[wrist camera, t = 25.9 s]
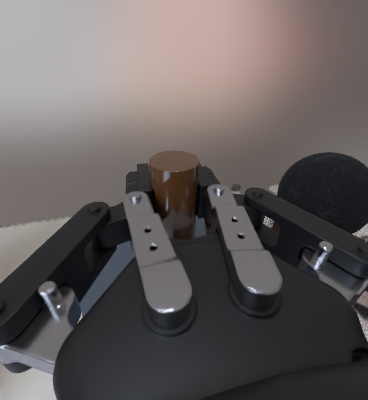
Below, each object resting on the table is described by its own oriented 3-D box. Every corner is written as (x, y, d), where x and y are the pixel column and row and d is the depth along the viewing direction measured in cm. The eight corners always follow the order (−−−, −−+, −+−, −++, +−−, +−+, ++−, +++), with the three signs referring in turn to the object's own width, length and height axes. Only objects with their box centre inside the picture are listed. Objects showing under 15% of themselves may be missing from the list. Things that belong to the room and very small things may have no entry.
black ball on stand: (251, 232, 40) (271, 152, 32) (289, 205, 47) (313, 134, 39) (329, 281, 32) (384, 191, 23) (361, 239, 39) (411, 159, 31)
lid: (291, 265, 18) (338, 154, 12) (192, 459, 9) (211, 365, 4) (168, 204, 24) (166, 115, 19) (46, 285, 16) (-17, 165, 11)
